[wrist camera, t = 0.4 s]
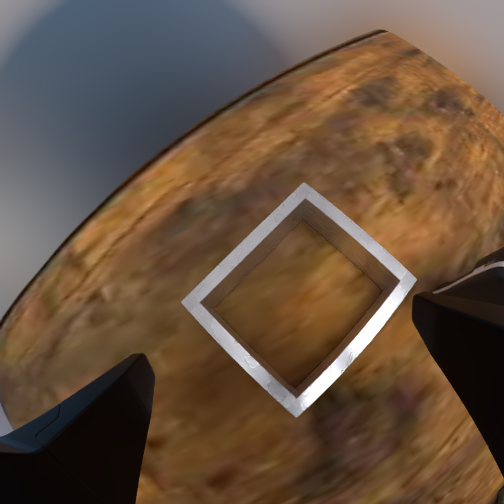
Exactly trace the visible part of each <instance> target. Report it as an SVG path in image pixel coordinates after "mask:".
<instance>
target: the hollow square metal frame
mask: <svg viewBox="0 0 504 504" xmlns="http://www.w3.org/2000/svg"><path fill="white" fill-rule="evenodd" d="M302 220H304V221H306V222H307V223H308V224H309V225H310V226H311V227H313V228H314V229H315V230H316V231H317V232H319V233H320V234H321V235H322V236H323V237H324V238H326V239H327V240H328V241H329V242H330V243H331V244H332V245H334V246H335V247H336V248H337V249H338V250H339V251H341V252H342V253H343V254H344V255H345V256H346V257H347V258H348V259H350V260H351V261H352V262H353V263H354V264H355V265H356V266H357V267H358V268H360V269H361V270H362V271H363V272H364V273H365V274H366V275H367V276H368V277H369V278H371V279H372V280H373V281H374V282H375V283H376V284H377V285H378V286H379V287H380V288H381V289H382V290H383V292H382V293H381V294H380V296H379V297H378V298H377V300H376V301H375V302H374V303H373V305H372V306H371V307H370V308H369V309H368V311H367V312H366V313H365V314H364V316H363V317H362V318H361V319H360V320H359V321H358V323H357V324H356V325H355V326H354V327H353V328H352V330H351V331H350V332H349V333H348V334H347V335H346V336H345V338H344V339H343V340H342V341H341V342H340V343H339V344H338V345H337V346H336V348H335V349H334V350H333V351H332V352H331V353H330V354H329V355H328V356H327V357H326V358H325V359H324V360H323V361H322V362H321V363H320V365H319V366H318V367H317V368H316V369H315V370H314V371H313V372H312V373H311V374H310V375H309V376H308V377H307V378H306V379H305V380H304V381H303V382H302V383H301V384H300V385H299V386H297V387H296V388H295V389H294V388H293V387H292V386H291V385H290V384H289V383H288V382H287V381H286V380H285V379H283V378H282V377H281V376H280V375H279V374H278V373H277V372H276V371H275V370H274V369H273V368H272V367H271V366H270V365H269V364H268V363H267V362H266V361H264V360H263V359H262V358H261V357H260V356H259V355H258V354H257V353H256V352H255V351H254V350H253V349H252V348H251V347H250V346H249V345H248V344H247V343H246V342H245V341H244V340H243V339H242V338H241V337H240V336H239V335H238V334H237V333H236V332H235V331H234V330H233V329H232V328H231V327H230V326H229V325H228V324H227V323H226V322H225V321H224V320H223V318H222V317H221V316H220V315H219V314H218V313H217V312H216V311H215V310H214V308H215V307H216V306H217V305H218V304H219V303H220V302H221V301H222V300H223V299H224V298H225V297H226V296H227V295H228V294H229V293H230V292H231V291H232V290H233V289H234V288H235V287H236V286H237V285H238V284H239V283H240V282H241V281H242V280H243V279H244V278H245V277H246V276H247V275H248V274H249V273H250V272H251V271H252V270H253V269H254V268H255V267H256V266H257V265H258V264H259V263H260V262H261V261H262V260H263V259H264V258H265V257H266V256H267V255H268V254H269V253H270V252H271V251H272V250H273V249H274V248H275V247H276V246H277V245H278V244H279V243H280V242H281V241H282V240H283V239H284V238H285V237H286V236H287V235H288V234H289V233H290V232H291V231H292V230H293V229H294V228H295V227H296V226H297V225H298V224H299V223H300V222H301V221H302ZM416 280H417V279H416V278H415V277H414V276H413V275H412V274H411V273H410V272H409V271H408V270H407V269H406V268H405V267H403V266H402V265H401V264H400V263H399V262H398V261H397V260H396V259H395V258H394V257H393V256H392V255H391V254H389V253H388V252H387V251H386V250H385V249H384V248H383V247H382V246H381V245H380V244H378V243H377V242H376V241H375V240H374V239H373V238H372V237H370V236H369V235H368V234H367V233H366V232H365V231H364V230H362V229H361V228H360V227H359V226H358V225H357V224H355V223H354V222H353V221H352V220H351V219H349V218H348V217H347V216H346V215H345V214H343V213H342V212H341V211H340V210H339V209H337V208H336V207H335V206H334V205H332V204H331V203H330V202H329V201H327V200H326V199H325V198H324V197H322V196H321V195H320V194H319V193H317V192H316V191H315V190H313V189H312V188H311V187H310V186H308V185H307V184H306V183H303V184H301V185H300V186H299V187H298V188H297V189H296V190H295V191H294V192H293V193H292V194H291V195H290V196H289V197H288V198H287V199H286V200H285V201H284V202H283V203H282V204H281V205H280V206H279V207H277V208H276V209H275V210H274V211H273V212H272V213H271V214H270V215H269V216H268V217H267V218H266V219H265V220H264V221H263V222H262V223H261V224H260V225H259V226H258V227H257V228H256V229H255V230H254V231H253V232H252V233H251V234H250V235H249V236H248V237H246V238H245V239H244V240H243V241H242V242H241V243H240V244H239V245H238V246H237V247H236V248H235V249H234V250H233V251H232V252H231V253H230V254H229V255H228V256H227V257H226V258H225V259H224V260H223V261H222V262H221V263H220V264H219V265H218V266H217V267H216V268H215V269H214V270H213V271H212V272H211V273H210V274H209V275H208V276H207V277H206V278H205V279H204V280H203V281H202V282H201V283H200V284H199V285H198V286H197V287H196V288H195V289H194V290H193V291H192V292H191V293H190V294H189V295H188V296H187V297H186V298H185V299H184V300H183V301H182V302H181V303H182V304H183V305H184V306H185V307H186V308H187V310H188V311H189V312H190V313H191V314H192V315H193V316H194V317H195V319H196V320H197V321H198V322H199V323H200V324H201V325H202V326H203V327H204V328H205V329H206V330H207V332H208V333H209V334H210V335H211V336H212V337H213V338H214V339H215V340H216V341H217V342H218V343H219V344H220V345H221V346H222V347H223V348H224V349H225V350H226V352H227V353H228V354H229V355H230V356H231V357H232V358H233V359H234V360H235V361H236V362H237V363H238V364H239V365H240V366H241V367H242V368H243V369H244V370H245V371H246V372H247V373H248V374H249V375H250V376H252V377H253V378H254V379H255V380H256V381H257V382H258V383H259V384H260V385H261V386H262V387H263V388H264V389H265V390H266V391H267V392H268V393H269V394H270V395H272V396H273V397H274V398H275V399H276V400H277V401H278V402H279V403H280V404H281V405H283V406H284V407H285V408H286V409H287V410H288V411H289V412H290V413H291V414H293V415H294V416H295V417H296V418H297V417H298V416H299V415H300V414H301V413H302V412H303V411H304V410H306V409H307V408H308V407H309V406H310V405H311V404H312V403H313V402H314V401H315V400H316V399H317V398H318V397H319V396H320V395H321V394H322V393H323V392H324V391H325V390H326V389H327V388H328V387H329V386H330V385H331V384H332V383H333V382H334V381H335V380H336V379H337V378H338V377H339V376H340V375H341V374H342V373H343V372H344V370H345V369H346V368H347V367H348V366H349V365H350V364H351V363H352V362H353V361H354V360H355V358H356V357H357V356H358V355H359V354H360V353H361V352H362V350H363V349H364V348H365V347H366V346H367V345H368V343H369V342H370V341H371V340H372V339H373V337H374V336H375V335H376V334H377V333H378V331H379V330H380V329H381V328H382V326H383V325H384V324H385V323H386V321H387V320H388V319H389V317H390V316H391V315H392V314H393V312H394V311H395V310H396V308H397V307H398V306H399V304H400V303H401V301H402V300H403V299H404V297H405V296H406V295H407V293H408V292H409V290H410V289H411V288H412V286H413V285H414V283H415V282H416Z"/></svg>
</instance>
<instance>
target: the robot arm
mask: <svg viewBox="0 0 504 504" xmlns="http://www.w3.org/2000/svg"><path fill="white" fill-rule="evenodd" d="M412 321H413V323H414V325H415V327H416V329H417V330H418V332H419V334H420V336H421V338H422V339H423V341H424V343H425V345H426V347H427V348H428V350H429V352H430V354H431V355H432V357H433V358H434V360H435V361H436V363H437V364H438V366H439V367H440V369H441V370H442V372H443V373H444V375H445V376H446V378H447V379H448V381H449V382H450V384H451V385H452V387H453V388H454V390H455V391H456V393H457V395H458V396H459V398H460V399H461V401H462V403H463V404H464V406H465V407H466V409H467V411H468V412H469V414H470V416H471V417H472V419H473V421H474V422H475V424H476V426H477V428H478V429H479V431H480V433H481V435H482V436H483V438H484V440H485V442H486V444H487V446H489V447H488V448H489V450H490V452H491V453H492V455H493V457H494V459H495V461H496V463H497V465H498V467H499V469H500V471H501V473H502V475H503V477H504V306H500V305H495V304H489V303H484V302H478V301H473V300H467V299H462V298H457V297H451V296H446V295H440V294H435V293H430V292H421V293H418V294H415V295H414V296H413V302H412ZM154 384H155V374H154V371H153V369H152V367H151V365H150V363H149V361H148V359H147V357H146V355H145V354H143V353H137V354H132V355H130V356H129V357H128V358H126V359H125V360H123V361H122V362H120V363H119V364H117V365H116V366H114V367H113V368H112V369H110V370H109V371H107V372H106V373H104V374H103V375H101V376H100V377H98V378H97V379H95V380H94V381H92V382H91V383H89V384H88V385H87V386H85V387H84V388H82V389H81V390H79V391H78V392H76V393H75V394H73V395H72V396H70V397H69V398H67V399H66V400H64V401H63V402H61V404H58V405H57V406H55V407H54V408H52V409H51V410H49V411H47V412H46V413H44V414H43V415H41V416H39V417H38V418H36V419H34V420H32V421H31V422H29V423H27V424H25V425H23V426H22V427H20V428H18V429H16V430H14V431H12V432H11V433H9V434H7V435H5V436H2V437H0V504H135V503H136V496H137V489H138V483H139V477H140V471H141V465H142V460H143V454H144V449H145V444H146V439H147V434H148V429H149V424H150V419H151V413H152V404H153V394H154Z"/></svg>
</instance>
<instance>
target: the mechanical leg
mask: <svg viewBox="0 0 504 504" xmlns="http://www.w3.org/2000/svg"><path fill="white" fill-rule="evenodd" d="M498 494H499V495H498V504H504V487H503V488H502V489H501V490H500V491H499V492H498Z"/></svg>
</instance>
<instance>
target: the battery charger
mask: <svg viewBox="0 0 504 504" xmlns="http://www.w3.org/2000/svg"><path fill="white" fill-rule="evenodd" d="M432 293H435V294H440V295H446V296H451V297H457V298H462V299H467V300H473V301H478V302H484V303H489V304H495V305H500V306H504V247H503V248H501V249H499V250H497V251H495V252H493V253H491V254H489V255H488V256H486V257H484V258H482V259H481V260H479V261H478V263H477V264H476V265H475V267H474V268H473V270H472V271H470V272H468V273H467V274H465V275H463V276H461V277H460V278H458V279H456V280H455V281H452V282H446V283H443V284H442V285H440V286H439V287H438V288H437V289H436V290H435V291H434V292H432Z"/></svg>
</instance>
